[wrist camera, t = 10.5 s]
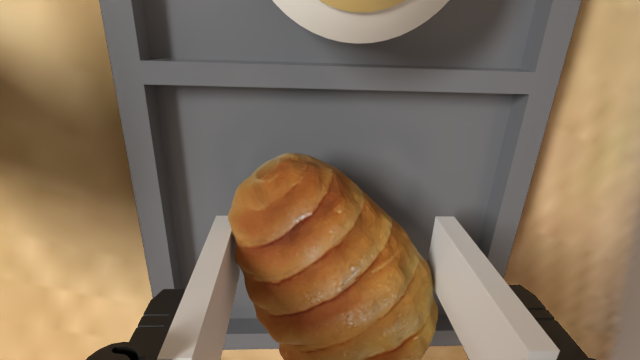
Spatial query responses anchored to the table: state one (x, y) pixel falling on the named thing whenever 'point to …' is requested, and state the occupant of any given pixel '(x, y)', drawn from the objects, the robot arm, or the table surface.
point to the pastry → (329, 266)
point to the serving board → (333, 114)
